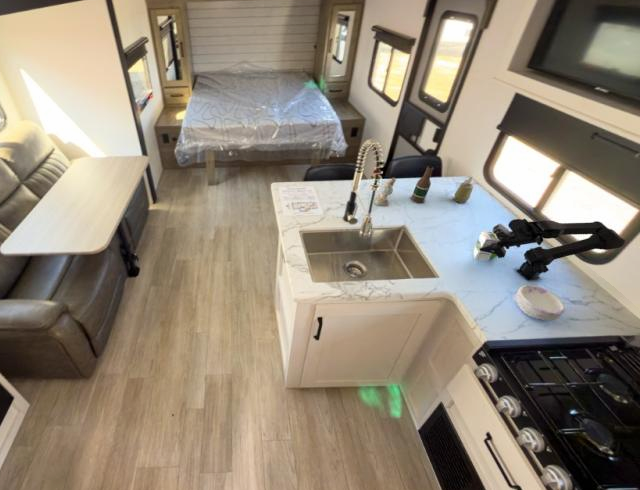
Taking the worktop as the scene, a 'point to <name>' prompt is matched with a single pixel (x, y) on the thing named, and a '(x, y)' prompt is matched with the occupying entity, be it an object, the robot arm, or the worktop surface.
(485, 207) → the worktop surface
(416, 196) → the beer bottle
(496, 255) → the lime
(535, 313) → the paper bowls
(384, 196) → the figurine
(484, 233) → the syrup box
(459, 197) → the squeeze bottle
